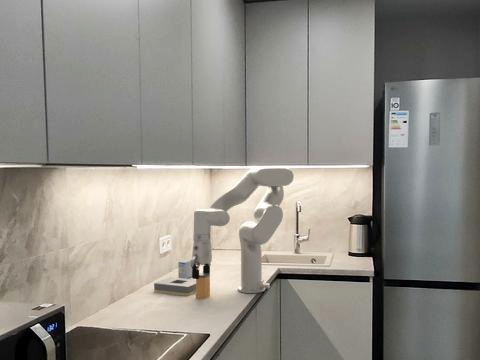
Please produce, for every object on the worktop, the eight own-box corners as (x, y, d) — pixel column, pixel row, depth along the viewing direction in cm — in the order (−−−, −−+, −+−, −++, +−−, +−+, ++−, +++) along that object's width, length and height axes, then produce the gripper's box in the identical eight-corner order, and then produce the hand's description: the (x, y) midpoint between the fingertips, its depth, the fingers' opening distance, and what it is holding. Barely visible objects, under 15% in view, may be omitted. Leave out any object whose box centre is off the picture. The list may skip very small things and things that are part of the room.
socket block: (203, 288, 227) (203, 280, 227) (188, 295, 214) (188, 286, 214) (170, 285, 235) (170, 277, 234) (154, 291, 222) (154, 283, 222)
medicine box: (187, 275, 256) (187, 259, 256) (194, 276, 254) (194, 260, 254) (178, 278, 250) (178, 261, 249) (185, 279, 247) (184, 262, 247)
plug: (209, 296, 213) (209, 273, 213) (205, 298, 209) (204, 275, 209) (201, 295, 215) (200, 272, 215) (196, 297, 211) (196, 274, 211)
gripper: (199, 240, 202) (198, 281, 202) (218, 236, 218) (217, 274, 218) (184, 239, 206) (183, 279, 205) (204, 235, 221) (203, 272, 221)
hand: (201, 276), depth 212 cm, fingers open, 9 cm apart
